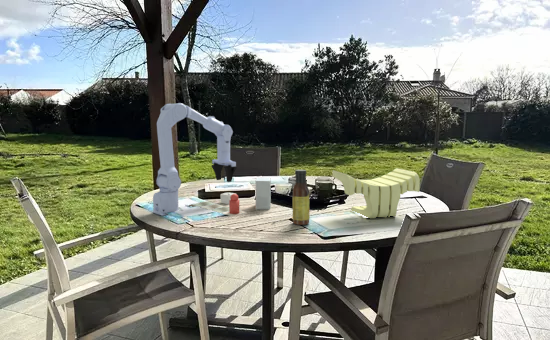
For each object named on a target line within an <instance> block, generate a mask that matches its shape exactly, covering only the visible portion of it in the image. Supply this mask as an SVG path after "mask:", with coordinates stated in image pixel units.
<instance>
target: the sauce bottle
mask: <svg viewBox="0 0 550 340" xmlns="http://www.w3.org/2000/svg"><path fill="white" fill-rule="evenodd" d="M294 173H295V183H294V185H293V187H292V222H293V224H294V225H297V226H306V225H309V223H310V219H311V218H310V206H311V205H310V190H309V186H308V183H307V170H306V169H295V170H294Z"/></svg>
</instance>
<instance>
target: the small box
mask: <svg viewBox="0 0 550 340" xmlns="http://www.w3.org/2000/svg"><path fill="white" fill-rule="evenodd" d="M271 185H272V183H271V178H270V177H256V178H255V210H271V208H272V207H271V205H272V204H271V203H272V199H271V196H272V193H271V190H272V189H271V187H272V186H271Z"/></svg>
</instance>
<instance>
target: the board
mask: <svg viewBox="0 0 550 340" xmlns="http://www.w3.org/2000/svg"><path fill="white" fill-rule="evenodd" d="M188 206H192V207H191V208H193V207H200V208H202V209H205V210H209V211H213V212H216V213H220V214H223V215H226V216H229V217H234V216H238V215H242V214H247V213H248V212H247V211H245V210H241V209H239V213H238V214H230V213H229V206H225V205H222V204H219V203H214V202H211V201H201V202H196V203H192V204H191V203H190V204H189V205H188Z"/></svg>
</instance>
